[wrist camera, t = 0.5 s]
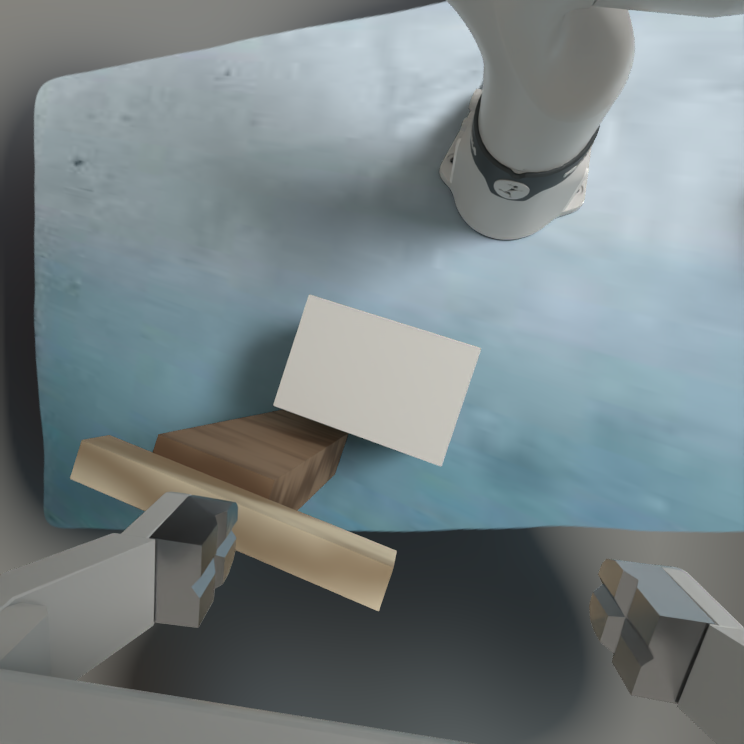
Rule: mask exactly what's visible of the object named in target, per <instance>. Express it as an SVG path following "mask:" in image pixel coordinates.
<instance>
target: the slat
mask: <svg viewBox="0 0 744 744" xmlns="http://www.w3.org/2000/svg"><path fill="white" fill-rule="evenodd" d="M70 479H72V480H74V481H76V482H79V483H81V484H83V485H86V486H88V487H90V488H93V489H95V490H97V491H100V492H102V493H104V494H107V495H109V496H111V497H114V498H116V499H118V500H121V501H123V502H125V503H128V504H130V505H132V506H135V507H137V508H139V509H142V510H144V511H146V510H147V509H148V508H149V507H150V506H152V505H153V504H154V503H155V502H156V501H157V500H158V499H159V498H160V497H161V496H162V495H163V494H165V493H166V492H178V493H186V494H191V495H197V496H203V497H209V498H215V499H220V500H226V501H232V502H236V503H237V505H238V520H237V522H236V523H235V525H234V527H233V528H232V532H233V533H234V535H235V536H236V548H235V550H237V551H239V552H242V553H244V554H246V555H249V556H251V557H253V558H256V559H258V560H260V561H263V562H265V563H267V564H270V565H272V566H274V567H277V568H279V569H281V570H284V571H286V572H288V573H291V574H293V575H295V576H298V577H300V578H302V579H305V580H307V581H310V582H312V583H314V584H316V585H319V586H321V587H323V588H326V589H328V590H331V591H333V592H335V593H337V594H340V595H342V596H344V597H347V598H349V599H351V600H354V601H356V602H358V603H361V604H363V605H365V606H368V607H370V608H372V609H375V610H377V611H379V609H380V606H381V603H382V600H383V596H384V594H385V591H386V588H387V585H388V582H389V579H390V575H391V573H392V570H393V567H394V562H395V557H396V553H397V551H396V550H393V549H390V548H388V547H386V546H383V545H381V544H378V543H375V542H373V541H371V540H368V539H366V538H363V537H361V536H358V535H356V534H353V533H351V532H349V531H346V530H344V529H341V528H339V527H336V526H334V525H331V524H329V523H326V522H324V521H321V520H319V519H316V518H314V517H311V516H309V515H306V514H304V513H301V512H299V511H296V510H294V509H291V508H289V507H286V506H284V505H281V504H279V503H277V502H274V501H272V500H269V499H267V498H264V497H262V496H259V495H257V494H254V493H252V492H249V491H247V490H244V489H242V488H239V487H237V486H234V485H232V484H229V483H227V482H224V481H222V480H219V479H217V478H214V477H212V476H209V475H207V474H204V473H202V472H200V471H197V470H195V469H192V468H190V467H187V466H185V465H182V464H180V463H177V462H175V461H172V460H170V459H167V458H165V457H162V456H160V455H157V454H155V453H152V452H150V451H147V450H145V449H142V448H140V447H137V446H135V445H132V444H130V443H128V442H125V441H123V440H120V439H118V438H115V437H113V436H110V435H108V436H102V437H96V438H90V439H85V440H82V441H81V445H80V448H79V451H78V454H77V458H76V461H75V464H74V467H73V470H72V474H71V477H70Z"/></svg>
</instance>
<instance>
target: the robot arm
mask: <svg viewBox="0 0 744 744" xmlns="http://www.w3.org/2000/svg"><path fill="white" fill-rule="evenodd" d="M446 1H447V2H448V3H449V4H450V5H451V6H452V7H453V8H454V10H455V11H456V12H457V13H458V15H459V16H460V17H461V19H462V20H463V21H464V23H465V24H466V26H467V27H468V29H469V30H470V32H471V34H472V35H473V37H474V39H475V41H476V43H477V45H478V47H479V50H480V52H481V55H482V58H483V63H484V74H483V88H482V90H481V89H476V90H475V92H474V94H473V96H472V98H471V101H470V104H469V109H470V110H471V111H470V113H469V115H468V116H467V118H465V119H464V120H463V122H462V125H461V129H460V131H459V133H458V134H457V136H456V138H455V140H454V142H453V143H452V145H451V147H450V149H449V151H448V152H447V154H446V156H445V158H444V160H443V161H442V163H441V166H440V170H439V174H440V176H441V178H442V180H443V181H444V182H445V183H446V185H447V186H448V187H449V188H450V189H451V191H452V193H453V196H454V200H455V204H456V206H457V209H458V211H459V213H460V215H461V216H462V218H463V219H464V220H465V222H466V223H467V224H468V225H469V226H470V227H472V228H473V229H474V230H476V231H477V232H479V233H481V234H483V235H485V236H488V237H491V238H495V239H502V240H512V239H519V238H523V237H526V236H529V235H532V234H534V233H536V232H538V231H539V230H541V229H542V228H544V227H545V226H546V225H548V224H549V223H550V222H551V221H553V220H554V219H556V218H557V217H559V216H563V215H566V214H569V213H572V212H574V211H576V210H578V209H579V208H580V207H581V206H582V204H583V202H584V200H585V193H586V185H587V177H588V172H589V161H590V153H591V147H592V145H593V143H594V140H595V138H596V136H597V133H598V131H599V127H600V124H601V122H602V121H603V119H604V118H605V116H606V114H607V113H608V111H609V110H610V108H611V107H612V105H613V104H614V102H615V101H616V99H617V98H618V96H619V95H620V93H621V91H622V90H623V88H624V86H625V84H626V82H627V80H628V78H629V74H630V72H631V68H632V65H633V60H634V53H635V38H634V33H633V27H632V22H631V19H630V15H629V12H628V10H637V11H647V12H657V13H667V14H677V15H687V16H697V17H708V18H714V17H722V16H732V15H741V14H744V0H446ZM451 160H453V163H451V162H450V161H451ZM237 520H238V505H237V503H236V502H232V501H226V500H220V499H215V498H209V497H203V496H197V495H191V494H186V493H178V492H166V493H165V494H163V495H162V496H161V497H160V498H159V499H158V500H157V501H156V502H155V503H154V504H153V505H152V506H150V507H149V508H148V509H147V510H146V511H145V512H144V513H143V514H142V515H141V516H140V517H139V518H137V519H136V520H135V521H134V522H133V523H132V524H131V525H130V526H129V527H128V528H127V529H126V530H125V531H123V532H122V533H121V534H117V533H112V534H109V535H106V536H104V537H101V538H98V539H95V540H93V541H90V542H87V543H84V544H82V545H79V546H76V547H73V548H71V549H68V550H65V551H63V552H60V553H57V554H54V555H51V556H49V557H46V558H43V559H40V560H38V561H35V562H32V563H29V564H26V565H24V566H21V567H18V568H16V569H13V570H10V571H7V572H5V573H2V574H0V744H473V743H467V742H460V741H454V740H448V739H441V738H435V737H429V736H422V735H416V734H409V733H403V732H397V731H390V730H384V729H378V728H371V727H364V726H359V725H352V724H346V723H340V722H333V721H327V720H321V719H315V718H308V717H302V716H296V715H290V714H283V713H277V712H271V711H264V710H258V709H252V708H245V707H239V706H233V705H227V704H220V703H214V702H208V701H201V700H195V699H188V698H183V697H176V696H170V695H163V694H157V693H151V692H145V691H138V690H132V689H125V688H120V687H113V686H107V685H101V684H94V683H88V682H82V681H76V680H77V679H78V678H80V677H81V676H83V675H84V674H85V673H87V672H88V671H90V670H91V669H92V668H94V667H95V666H97V665H98V664H100V663H101V662H102V661H104V660H105V659H107V658H108V657H109V656H111V655H112V654H114V653H115V652H116V651H118V650H119V649H121V648H122V647H123V646H125V645H126V644H128V643H129V642H130V641H132V640H133V639H135V638H136V637H138V636H139V635H140V634H142V633H143V632H145V631H146V630H147V629H149V628H150V627H152V626H153V625H154V622H156V623H164V624H172V625H180V626H188V627H197V628H198V627H199V626H200V624H201V622H202V620H203V618H204V617H205V615H206V613H207V611H208V609H209V608H210V606H211V604H212V603H213V601H214V589H215V588H217V587H218V586H220V585H222V584H223V583H224V581H225V579H226V577H227V575H228V573H229V571H230V567H231V565H232V562H233V558H234V553H235V548H236V536H235V535H234V533H233V532H232V528H233V527H234V525H235V523H236V522H237ZM598 575H599V577H600V580H601V582H602V585H601V586H600V587H599V588H597V589H596V590H595V591H594V592H593V593H592V597H591V601H590V605H589V608H590V620H591V623H592V627H593V630H594V632H595V634H596V636H597V637H598V639H599V641H600V642H601V643H602V644H603V645H604V646H606V647H607V648H608V649H609V650H610V651H612V652H613V658H612V663H613V665H614V667H615V668H616V670H617V672H618V674H619V675H620V677H621V678H622V680H623V682H624V684H625V686H626V687H627V689H628V691H629V692H630V694H631V695H632V696H637V697H643V698H648V699H653V700H659V701H664V702H670V703H675V704H678V705H677V707H678V708H679V709H680V710H681V711H682V712H684V714H686V715H687V716H688V717H689V718H690V719H691V720H692V721H693V722H694V723H695V724H696V725H697V726H698V727H699V728H700V729H701V730H702V731H703V732H704V733H705V734H707V735H708V736H709V737H710V738H711V739H712V740H713V741H714V742H715V743H716V744H744V627H743V626H742V625H741V624H740V623H739V622H737V620H735V619H734V618H733V617H732V616H731V615H730V614H729V613H728V612H727V611H726V610H725V609H724V608H723V607H722V606H721V605H720V604H719V603H718V602H717V601H716V600H715V599H714V598H713V597H712V596H711V595H710V594H709V593H708V592H707V591H706V590H705V589H704V588H703V587H702V586H701V585H700V584H698V582H696V580H695V579H694V578H692V577H691V576H690V575H689V574H688V573H687V572H686V571H684V570H682V569H680V568H678V567H671V566H661V565H650V564H643V563H635V562H627V561H619V560H612V559H606V560H605V561H604V562H603V564H602V565H601V568H600V571H599V574H598Z"/></svg>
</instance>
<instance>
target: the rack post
mask: <svg viewBox="0 0 744 744" xmlns="http://www.w3.org/2000/svg"><path fill="white" fill-rule="evenodd" d="M347 436H348V433H346V432H343V431H341V430H338V429H335V428H332V427H330V426H327V425H324V424H321V423H319V422H316V421H313V420H310V419H308V418H305V417H302V416H299V415H297V414H294V413H291V412H288V411H286V410H278V411H273V412H268V413H263V414H258V415H253V416H248V417H243V418H238V419H233V420H228V421H223V422H218V423H213V424H208V425H203V426H198V427H193V428H188V429H183V430H178V431H173V432H168V433H163V434H158V438H157V441H156V444H155V447H154V450H153V453H155V454H157V455H160V456H162V457H165V458H167V459H170V460H172V461H175V462H177V463H180V464H182V465H185V466H187V467H190V468H192V469H195V470H197V471H200V472H202V473H204V474H207V475H209V476H212V477H214V478H217V479H219V480H222V481H224V482H227V483H229V484H232V485H234V486H237V487H239V488H242V489H244V490H247V491H249V492H252V493H254V494H257V495H259V496H262V497H264V498H267V499H269V500H272V501H274V502H277V503H279V504H281V505H284V506H286V507H289V508H291V509H294V510H296V511H297V510H298V509H299V508H301V507H302V506H303V505H304V504H305V503H306V502H307V501H308V500H309V499H310V498H311V497H312V496H313V495H314V494H315V493H316V492H317V491H318V490H319V489H320V488H321V487H322V486H323V485H324V484H325V483H326V482H327V481H328V480H329V479H330V478H332V477H333V476H334V475H335V472H336V469H337V466H338V463H339V460H340V457H341V454H342V451H343V448H344V445H345V442H346V439H347ZM136 508H137V507H136ZM141 510H142V509H141ZM143 511H144V510H143ZM241 553H242V552H241ZM243 554H244V553H243ZM248 556H249V555H248Z"/></svg>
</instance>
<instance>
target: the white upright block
mask: <svg viewBox="0 0 744 744" xmlns="http://www.w3.org/2000/svg"><path fill="white" fill-rule="evenodd" d="M480 351H481V348H479V347H476V346H473V345H469V344H466V343H463V342H460V341H457V340H453V339H450V338H447V337H444V336H441V335H437V334H434V333H431V332H428V331H425V330H421V329H418V328H415V327H412V326H409V325H405V324H402V323H399V322H396V321H393V320H389V319H386V318H383V317H380V316H377V315H373V314H370V313H367V312H364V311H361V310H357V309H354V308H351V307H348V306H345V305H341V304H338V303H335V302H332V301H329V300H325V299H322V298H319V297H316V296H313V295H309V296H308V299H307V302H306V305H305V308H304V312H303V315H302V318H301V321H300V324H299V327H298V330H297V333H296V336H295V339H294V342H293V346H292V349H291V352H290V355H289V358H288V361H287V364H286V367H285V370H284V373H283V376H282V379H281V383H280V386H279V389H278V392H277V395H276V398H275V401H274V404H273V406H276V407H278V408H281V409H284V410H287V411H289V412H292V413H295V414H298V415H300V416H303V417H306V418H309V419H311V420H314V421H317V422H320V423H323V424H325V425H328V426H331V427H334V428H336V429H339V430H342V431H345V432H347V433H350V434H353V435H356V436H358V437H361V438H364V439H367V440H369V441H372V442H375V443H378V444H380V445H383V446H386V447H389V448H391V449H394V450H397V451H400V452H402V453H405V454H408V455H411V456H413V457H416V458H419V459H422V460H424V461H427V462H430V463H433V464H435V465H438V466H442V463H443V460H444V457H445V454H446V451H447V448H448V445H449V443H450V440H451V437H452V434H453V431H454V428H455V425H456V422H457V419H458V416H459V413H460V410H461V407H462V404H463V401H464V398H465V395H466V392H467V389H468V386H469V383H470V380H471V377H472V375H473V372H474V369H475V366H476V363H477V360H478V357H479V354H480Z"/></svg>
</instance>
